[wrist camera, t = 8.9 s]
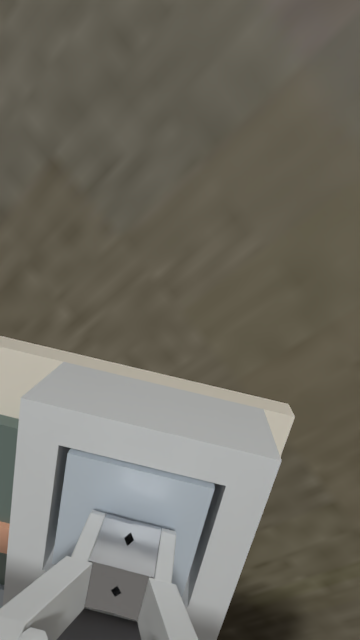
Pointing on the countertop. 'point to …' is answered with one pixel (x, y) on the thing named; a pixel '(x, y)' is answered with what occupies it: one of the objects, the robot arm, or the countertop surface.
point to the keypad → (131, 459)
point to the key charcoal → (100, 627)
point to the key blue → (132, 503)
